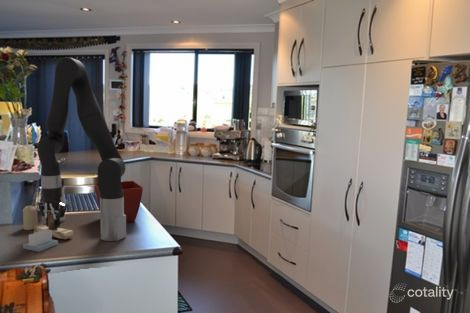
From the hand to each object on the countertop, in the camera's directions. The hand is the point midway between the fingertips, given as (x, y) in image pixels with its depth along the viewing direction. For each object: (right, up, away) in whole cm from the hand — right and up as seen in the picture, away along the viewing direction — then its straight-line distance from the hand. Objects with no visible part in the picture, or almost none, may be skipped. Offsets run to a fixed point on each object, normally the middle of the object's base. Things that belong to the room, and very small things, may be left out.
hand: (53, 226), depth 163 cm
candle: (-15, -3, +10) cm, 18 cm away
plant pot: (+19, -2, +27) cm, 33 cm away
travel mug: (-8, -1, +22) cm, 23 cm away
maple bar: (0, -3, 0) cm, 3 cm away
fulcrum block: (+1, -5, -12) cm, 13 cm away
